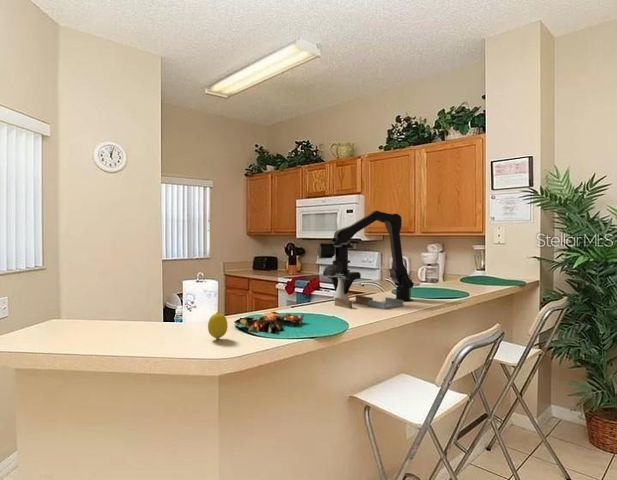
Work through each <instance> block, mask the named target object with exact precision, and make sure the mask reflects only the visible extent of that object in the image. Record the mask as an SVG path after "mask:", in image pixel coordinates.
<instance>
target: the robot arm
mask: <svg viewBox="0 0 617 480" xmlns="http://www.w3.org/2000/svg"><path fill="white" fill-rule="evenodd" d="M376 221H377V222H380V223H383V224H384V226H385V228H386V231H387V233H388V235H389V236H388V237H389V244H390V252H391V258H392V265H391V266H392V267H391V268H388V271H389V278H390V279H391V280H392V282H393V284H394V286H396V290H395V291H396V292H395V298H394V299H400V300H403V302H409V301H413V300H414V298H412V297H411V296H412V295H411V292H412V291H411V289H412V288H413V287H414V284H415V283H414V282H413V281H412V280H411V279H410V277H409V273H408V270H407V267H406V266H405V264H404V259H403V249H402V242H401V236H400V235H401V234H400V233H401V229H402V226H403V225H402V224H403V223H402V221H403V219H402V216H401V215H400V214H398V213H387V212H383V211H379V210H372V211H370V213H369V214H367V215H366V216H364V217H362V218H361V219H358V220H357V221H356V222H354V223H352V224H351V225H347V226H345V227H342V228H340V229H338V230H336V231H335V232H333V233H334V234H333V238H332V239H331V240H330V242H328V243H326V242H325V243H324V242H319V245H318V249H317V257H318V259H333V257H334V260H332V263H331V264H330V265H328V266H326V267H324V269H323V271H322V272H323V273H322V276H325V277H327V278H328V279H329V280H330V281H331V283H332V285H333V287H334V288H333V289H334V291H335V292H336V290H337V287H338V277H345V279H342V281H343V282H344V294H348V293H349V291H350V288H351V286H352V284H353V283H354V281H356V280H359V279H362V278H361V277H362V275H361V272H360V271H351V270H350V269H349V264H350V263H351V261H350V260H349V249H352V248H354V247H353V246H352V245H351V243H350V242H349V241H350V240H351V239H352V238H354V236H355V235H356V234H357V233H358V232H360V231H362V230H364V229H365V228H366V227H368V226H370V225H371V224H373V223H374V222H376Z"/></svg>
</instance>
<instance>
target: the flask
mask: <svg viewBox="0 0 617 480" xmlns="http://www.w3.org/2000/svg"><path fill="white" fill-rule="evenodd" d="M342 279H345V276H341V277H338V287H337V290H336V291H335V292H334V295H333V298H332V299H333V300H334V301H335V298H341V299H345V300H350V297H349V295H348V293H347V294H344V282H343V281H342Z"/></svg>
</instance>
